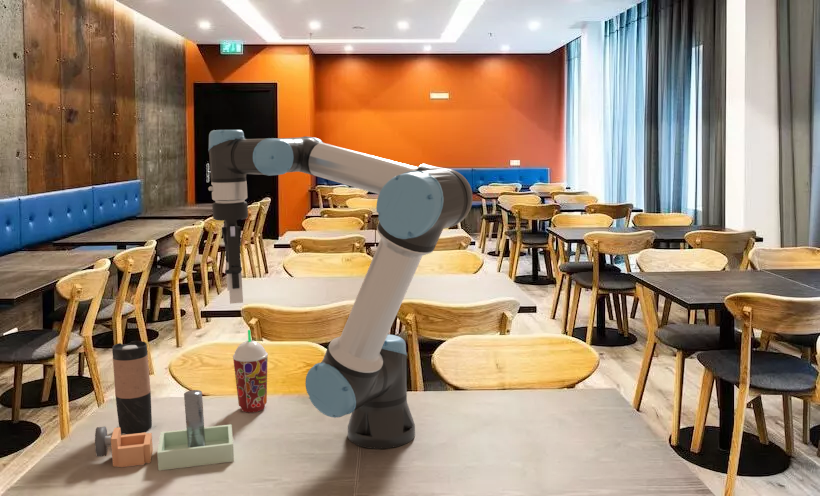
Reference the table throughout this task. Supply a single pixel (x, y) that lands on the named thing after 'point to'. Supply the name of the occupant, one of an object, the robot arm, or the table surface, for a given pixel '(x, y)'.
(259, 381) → the smoothie
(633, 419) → the table surface
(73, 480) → the table surface
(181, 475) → the table surface
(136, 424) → the travel mug
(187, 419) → the pin
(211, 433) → the tray
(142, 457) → the block
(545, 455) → the table surface
